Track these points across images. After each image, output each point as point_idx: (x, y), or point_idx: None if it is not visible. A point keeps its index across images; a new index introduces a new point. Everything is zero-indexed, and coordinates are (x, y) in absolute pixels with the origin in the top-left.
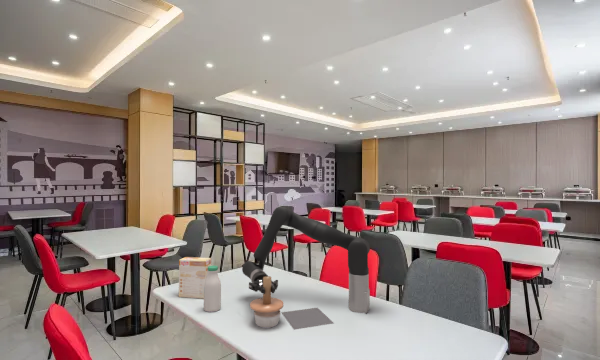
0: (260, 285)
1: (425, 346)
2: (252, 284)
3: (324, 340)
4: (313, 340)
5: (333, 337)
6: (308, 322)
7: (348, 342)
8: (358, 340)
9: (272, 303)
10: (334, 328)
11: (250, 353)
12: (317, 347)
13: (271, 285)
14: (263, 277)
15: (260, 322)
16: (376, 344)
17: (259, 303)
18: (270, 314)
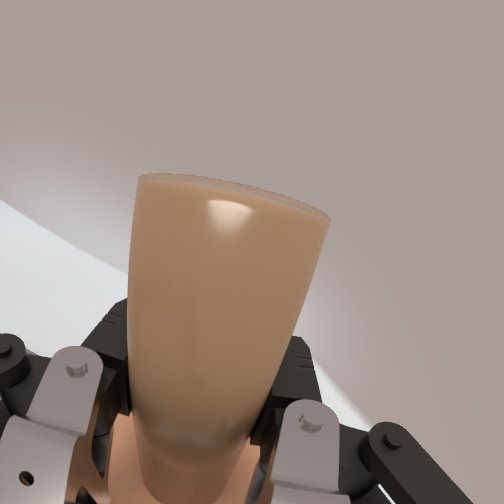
0: (321, 410)
1: (8, 221)
2: (458, 491)
3: (82, 300)
4: (104, 315)
5: (53, 295)
6: None
7: (55, 271)
8: (35, 264)
9: (136, 447)
10: (3, 310)
11: None
12: (125, 296)
13: (111, 350)
14: (326, 215)
15: None
16: (34, 248)
17: None
18: None
